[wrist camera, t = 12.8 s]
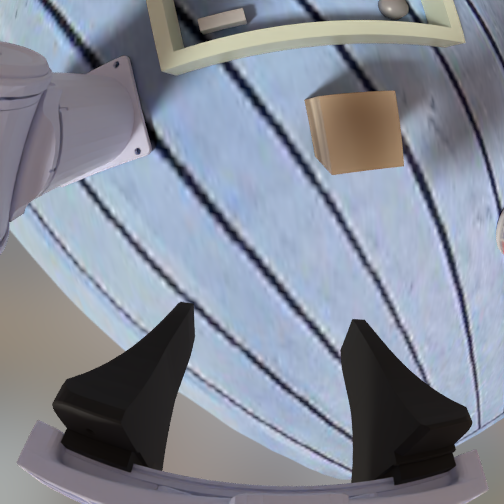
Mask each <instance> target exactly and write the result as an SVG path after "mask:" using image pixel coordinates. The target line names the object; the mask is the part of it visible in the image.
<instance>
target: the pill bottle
mask: <svg viewBox="0 0 504 504" xmlns="http://www.w3.org/2000/svg"><path fill="white" fill-rule="evenodd" d="M496 242H497V246H498V248H499V250H500V251H501V253H502V254H503V255H504V209H503V211H502V213H501V215H500V218H499V221H498V224H497V229H496Z"/></svg>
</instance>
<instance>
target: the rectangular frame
mask: <svg viewBox="0 0 504 504" xmlns="http://www.w3.org/2000/svg"><path fill="white" fill-rule="evenodd" d="M421 2H422V5H423V8H424V11H425V14H426V18H427V21H428V24H422V23H412V22H400V21H382V20H341V21H322V22H310V23H300V24H292V25H284V26H277V27H271V28H265V29H259V30H254V31H249V32H244V33H239V34H235V35H230V36H226V37H222V38H218V39H214V40H211V41H207V42H203V43H200V44H197V45H193V46H190V47H187V48H184V44H183V40H182V35H181V31H180V27H179V23H178V18H177V14H176V10H175V5H174V1H173V0H146V3H147V8H148V13H149V17H150V22H151V27H152V32H153V36H154V41H155V45H156V50H157V54H158V59H159V63H160V67H161V71H162V72H165V73H169V74H172V75H175V76H178V75H181V74H184V73H187V72H190V71H194V70H197V69H200V68H204V67H208V66H211V65H215V64H219V63H223V62H227V61H231V60H235V59H240V58H244V57H249V56H254V55H259V54H265V53H270V52H276V51H283V50H290V49H297V48H305V47H314V46H325V45H339V44H362V43H389V44H412V45H425V46H435V47H444V48H445V47H449V46H453V45H458V44H463V43H466V42H465V38H464V35H463V31H462V27H461V24H460V20H459V17H458V14H457V11H456V8H455V5H454V2H453V0H421ZM378 7H379V10H380V11H381V13H382V14H383V15H384V16H386V17H387V18H389V19H392V20H398V19H400V18H402V17H404V16H405V15H407V13H408V11H409V8H408V5H407V3H406V1H405V0H379V2H378ZM198 23H199V28H200V31H201V32H202V33H203V34H208V33H211V32H215V31H219V30H223V29H227V28H231V27H236V26H240V25H245V24H247V22H246V18H245V14H244V11H243V8H240V9H235V10H231V11H226V12H222V13H218V14H214V15H211V16H207V17H203V18H200V19H198Z"/></svg>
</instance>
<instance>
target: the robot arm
mask: <svg viewBox="0 0 504 504" xmlns="http://www.w3.org/2000/svg"><path fill="white" fill-rule="evenodd" d="M118 62H119V66H118V67H117V68H116V63H118ZM137 148H140V150H141V153H140V154H138V153H137ZM151 150H152V146H151V143H150V139H149V136H148V132H147V128H146V124H145V120H144V117H143V113H142V109H141V105H140V101H139V97H138V92H137V88H136V84H135V80H134V75H133V71H132V66H131V62H130V59H129V57H127V56H121V57H118V58H116V59H114V60H112V61H110V62H108V63H106V64H104V65H102V66H100V67H98V68H96V69H94V70H92V71H90V72H89V73H87V74H77V73H53V72H52V70H51V69H50V68H49V65H48V63H47V60H46V58H45V57H44V56H42V55H41V54H39V53H37V52H35V51H33V50H31V49H28V48H25V47H22V46H19V45H15V44H11V43H7V42H1V41H0V254H1V253H2V252H3V250H4V248H5V246H6V243H7V241H8V236H9V222H11V221H13V220H14V219H16V218H18V217H19V216H21V215H22V214H24V212H25V208H26V206H27V205H28V203H29V202H31V201H32V200H34V199H36V198H38V197H40V196H42V195H43V194H45V193H47V192H49V191H51V190H53V189H55V188H57V187H59V186H60V187H64V186H66V185H69V184H71V183H73V182H76V181H78V180H81V179H83V178H86V177H88V176H91V175H93V174H96V173H98V172H101V171H104V170H106V169H109V168H112V167H114V166H117V165H120V164H123V163H126V162H129V161H131V160H134V159H137V158H140V157H143V156H146V155H148V154H150V153H151ZM194 338H195V328H194V304H192V303H185V302H180V303H178V304H177V305H176V307H175V308H174V309H173V310H172V311H171V312H170V313H169V314H168V315H167V316H166V317H165V318H164V319H163V320H162V321H161V322H160V323H159V324H158V325H157V326H156V327H155V328H154V329H153V330H152V331H151V332H150V333H148V334H147V335H146V336H145V337H144V338H143V339H141V340H140V341H139V342H138V343H136V344H135V345H134V346H133V347H131V348H130V349H128V350H127V351H126V352H124V353H123V354H121V355H119V356H118V357H116V358H115V359H113V360H111V361H109V362H108V363H106V364H104V365H102V366H100V367H98V368H95V369H93V370H91V371H89V372H86V373H84V374H81V375H78V376H75V377H72V378H69V379H67V380H66V381H65V383H64V384H63V385H62V387H61V389H60V391H59V393H58V394H57V396H56V398H55V400H54V402H53V404H52V405H53V409H54V411H55V413H56V414H57V416H58V417H59V418H60V420H61V421H62V422H63V424H64V425H65V426H66V427H67V430H66V432H65V434H64V433H63V432H61V431H60V430H58V429H56V428H54V427H52V426H50V425H48V424H46V423H44V422H42V421H40V420H37V422H36V424H35V426H34V427H33V429H32V431H31V434H30V435H29V437H28V439H27V441H26V444H25V446H24V448H23V450H22V452H21V454H20V456H19V458H18V461H17V464H18V465H19V466H20V467H21V468H23V469H24V470H25V471H27V472H28V473H29V474H30V475H32V476H33V477H34V478H36V479H37V480H39V481H40V482H42V483H43V484H44V485H46V486H48V487H50V488H52V489H53V490H55V491H57V492H59V493H61V494H63V495H65V496H67V497H69V498H71V499H73V500H75V501H77V502H80V503H82V504H466V503H468V502H469V501H471V500H473V499H475V498H476V497H478V496H480V495H481V494H483V493H485V492H486V491H488V485H487V481H486V478H485V474H484V471H483V468H482V465H481V461H480V458H479V455H478V452H477V450H476V449H474V450H471V451H469V452H466V453H463V454H460V455H458V456H456V457H454V456H453V452H454V451H455V450H456V449H455V445H454V444H455V443H456V442H457V441H458V440H459V439H460V438H461V437H462V436H463V435H464V434H466V432H467V431H468V430H469V429H470V427H471V425H472V420H471V418H470V415H469V413H468V410H467V408H466V407H465V406H463V405H461V404H459V403H457V402H454V401H452V400H450V399H449V398H447V397H445V396H444V395H442V394H440V393H439V392H437V391H436V390H434V389H433V388H431V387H430V386H429V385H427V384H426V383H424V382H423V381H422V380H421V379H419V378H418V377H417V376H416V375H415V374H414V373H412V372H411V371H410V370H409V369H408V368H407V367H406V366H405V365H404V364H403V363H402V362H401V361H400V360H399V359H398V358H397V357H396V356H395V355H394V354H393V353H392V352H391V350H390V349H389V348H388V347H387V346H386V345H385V344H384V342H383V341H382V340H381V339H380V338H379V336H378V335H377V334H376V333H375V332H374V330H373V329H372V328H371V327H370V326H369V324H368V323H367V322H366V321H365V320H358V319H352V322H351V324H350V327H349V330H348V332H347V335H346V337H345V340H344V343H343V345H342V348H341V350H340V351H341V364H342V371H343V376H344V381H345V385H346V390H347V395H348V399H349V404H350V409H351V417H352V431H353V467H352V481H351V483H348V484H337V485H322V486H262V485H247V484H236V483H235V484H234V483H226V482H219V481H211V480H205V479H199V478H193V477H187V476H182V475H177V474H172V473H168V472H164V471H162V468H163V462H164V454H165V448H166V442H167V437H168V431H169V426H170V421H171V416H172V412H173V407H174V403H175V399H176V396H177V393H178V390H179V387H180V384H181V381H182V379H183V376H184V373H185V370H186V367H187V365H188V362H189V359H190V356H191V352H192V348H193V343H194Z"/></svg>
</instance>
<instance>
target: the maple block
mask: <svg viewBox="0 0 504 504" xmlns="http://www.w3.org/2000/svg"><path fill="white" fill-rule="evenodd" d="M305 105H306V110H307V115H308V120H309V125H310V130H311V136H312V141H313V147H314V153H315V157H316V158H317V159H318V160H319V161H320V162H321V163H322V164H323V165H324V167H325V168H326V169H327V170H328V171H329V172H330V173H331V174H332V175H336V174H343V173H351V172H358V171H366V170H374V169H383V168H391V167H401V166H404V160H403V148H402V138H401V129H400V121H399V114H398V107H397V101H396V94H395V91H372V92H357V93H344V94H334V95H325V96H318V97H314V98H310V99H307V100H305Z"/></svg>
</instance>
